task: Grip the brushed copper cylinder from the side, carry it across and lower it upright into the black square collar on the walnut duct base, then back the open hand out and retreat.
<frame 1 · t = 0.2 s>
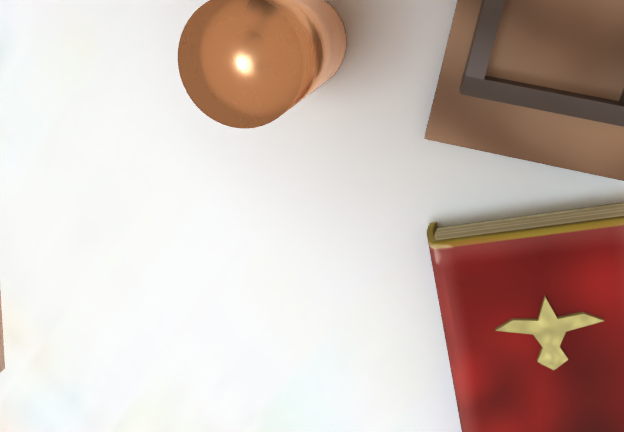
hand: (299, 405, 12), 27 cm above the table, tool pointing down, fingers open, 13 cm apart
brushed copper cylinder: (301, 42, 36), on the table
hardcover book: (541, 350, 41), on the table
duct base: (567, 17, 33), on the table
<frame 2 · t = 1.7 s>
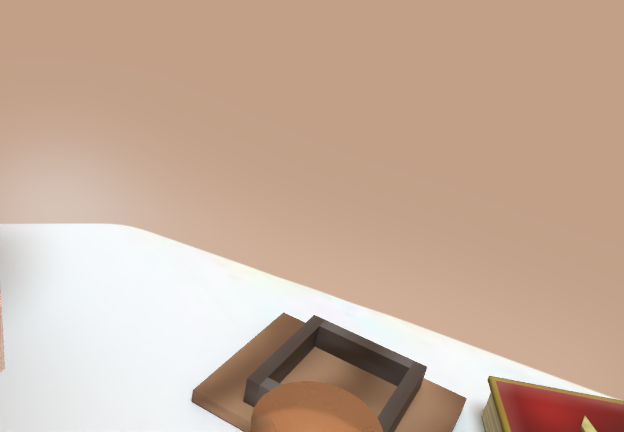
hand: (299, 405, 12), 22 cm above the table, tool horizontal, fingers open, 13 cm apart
duct base: (333, 405, 43), on the table
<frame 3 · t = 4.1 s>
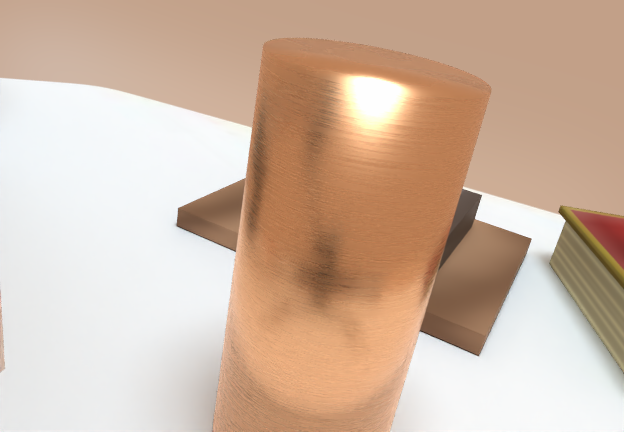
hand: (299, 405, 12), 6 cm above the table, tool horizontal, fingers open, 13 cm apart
duct base: (362, 240, 33), on the table
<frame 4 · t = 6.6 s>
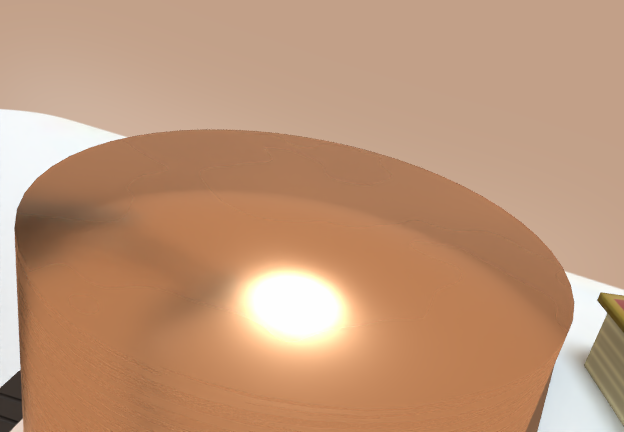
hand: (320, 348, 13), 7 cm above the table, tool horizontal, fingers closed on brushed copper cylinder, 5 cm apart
duct base: (340, 337, 25), on the table
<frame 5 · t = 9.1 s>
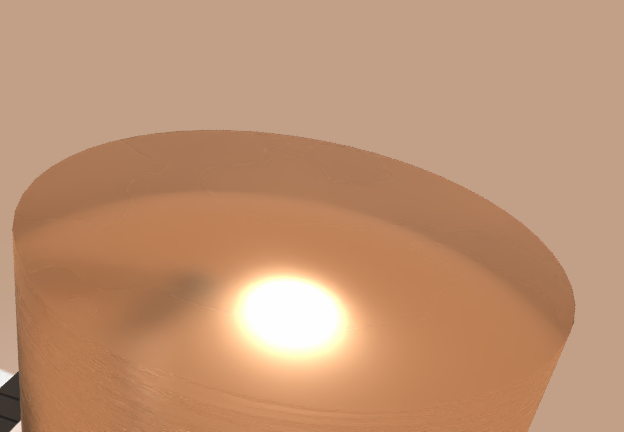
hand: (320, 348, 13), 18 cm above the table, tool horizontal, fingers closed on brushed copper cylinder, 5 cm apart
when the fingers open (9 cm above the table, at t = 11.8 s): brushed copper cylinder drops 1 cm, resting on duct base.
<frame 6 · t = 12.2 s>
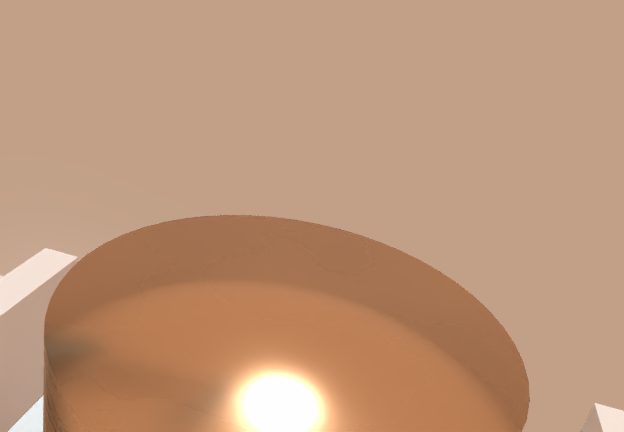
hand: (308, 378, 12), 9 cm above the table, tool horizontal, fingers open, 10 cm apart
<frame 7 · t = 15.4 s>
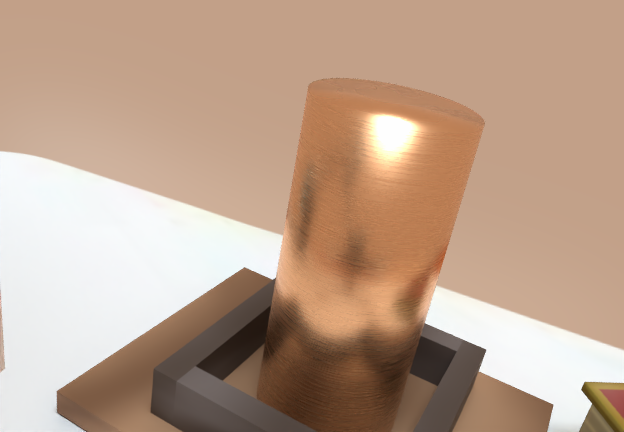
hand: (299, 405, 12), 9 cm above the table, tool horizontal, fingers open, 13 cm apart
brushed copper cylinder: (326, 399, 24), point 1 cm above the table, touching duct base
duct base: (322, 417, 24), on the table
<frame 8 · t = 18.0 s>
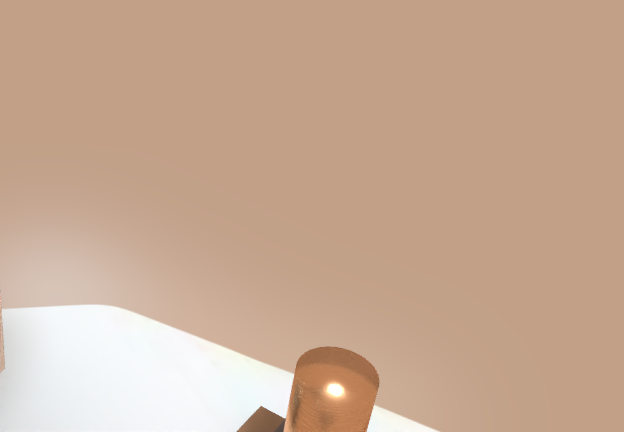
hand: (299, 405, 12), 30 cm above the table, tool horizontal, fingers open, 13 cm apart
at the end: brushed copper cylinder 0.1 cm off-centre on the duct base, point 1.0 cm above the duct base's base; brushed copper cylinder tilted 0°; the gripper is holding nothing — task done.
